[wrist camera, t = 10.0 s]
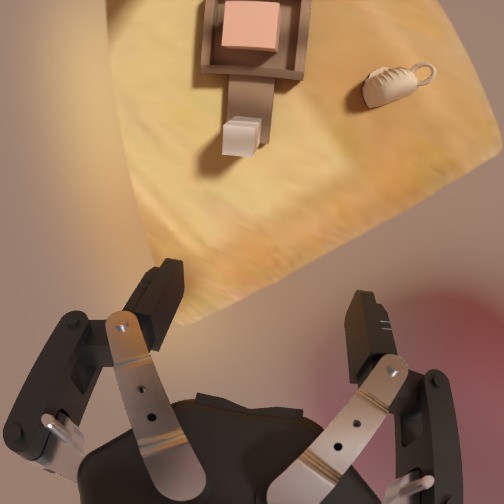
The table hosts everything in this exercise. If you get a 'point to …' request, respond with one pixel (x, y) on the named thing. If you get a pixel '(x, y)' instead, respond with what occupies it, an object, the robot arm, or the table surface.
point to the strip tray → (254, 72)
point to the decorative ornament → (393, 84)
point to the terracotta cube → (251, 25)
